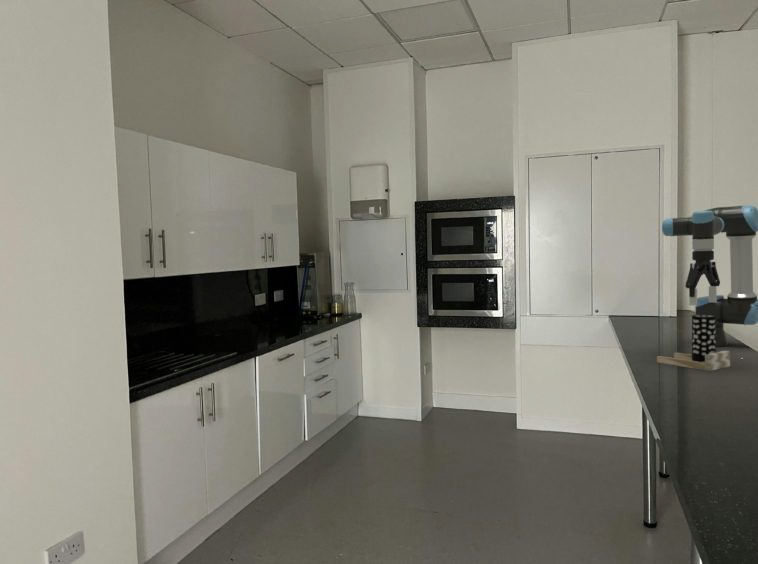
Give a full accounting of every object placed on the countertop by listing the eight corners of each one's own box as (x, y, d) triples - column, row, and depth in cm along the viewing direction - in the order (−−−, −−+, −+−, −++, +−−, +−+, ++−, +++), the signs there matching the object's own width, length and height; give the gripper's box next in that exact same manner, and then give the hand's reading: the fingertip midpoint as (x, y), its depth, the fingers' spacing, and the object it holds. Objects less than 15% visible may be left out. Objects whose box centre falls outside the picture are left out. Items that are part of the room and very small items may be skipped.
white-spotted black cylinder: (691, 367, 234) (691, 316, 233) (691, 363, 241) (691, 314, 240) (716, 368, 230) (716, 317, 229) (715, 364, 237) (715, 315, 236)
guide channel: (677, 358, 252) (677, 344, 252) (730, 366, 234) (730, 351, 233) (657, 362, 245) (656, 348, 245) (710, 371, 226) (710, 355, 226)
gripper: (711, 249, 244) (711, 300, 245) (675, 251, 231) (675, 305, 232) (729, 249, 237) (729, 301, 239) (694, 251, 224) (694, 307, 226)
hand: (703, 303), depth 235 cm, fingers open, 13 cm apart
